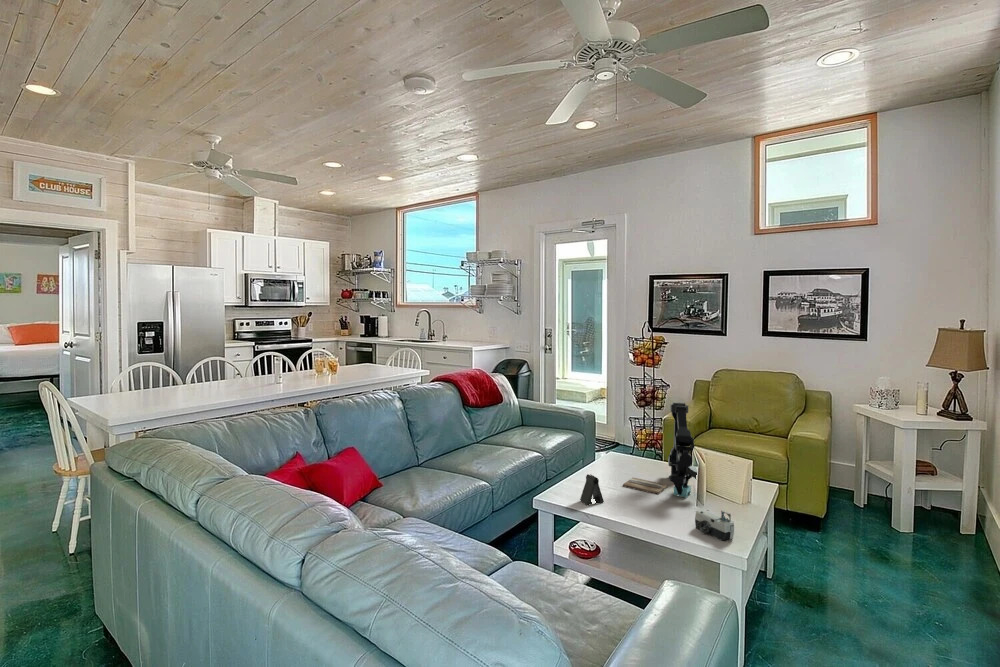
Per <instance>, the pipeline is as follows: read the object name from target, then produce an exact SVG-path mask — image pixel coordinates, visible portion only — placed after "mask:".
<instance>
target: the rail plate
mask: <svg viewBox="0 0 1000 667" xmlns="http://www.w3.org/2000/svg"><path fill="white" fill-rule="evenodd" d="M624 486H626V487H625V488H628V487H630V488H629V489H633V488H635V489H634V490H637V489H639V490H638V491H641V490H644V491H643V492H646V491H648V492H647V493H650V492H653V493H652V494H655V493H657V494H656V495H660V494H661V493H662V492H664V491H665V490H666V489H667V488H668V487H669V484H665V483H661V482H656V481H651V480H646V479H642V478H638V477H631V478H629V479H628V480H627V481H626V482H624V483H623V484H622V487H624ZM667 486H668V487H667ZM666 487H667V488H666ZM665 488H666V489H665ZM664 489H665V490H664ZM660 492H661V493H660ZM659 493H660V494H659Z"/></svg>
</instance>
